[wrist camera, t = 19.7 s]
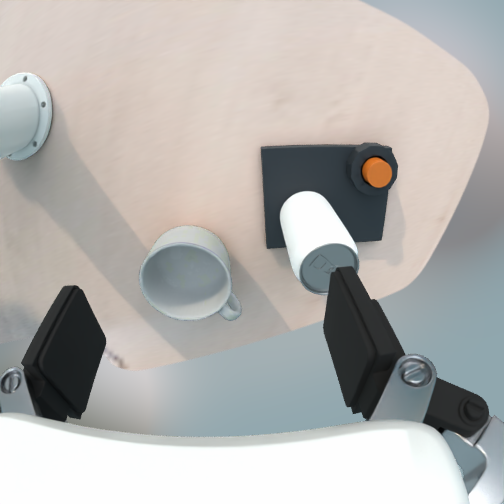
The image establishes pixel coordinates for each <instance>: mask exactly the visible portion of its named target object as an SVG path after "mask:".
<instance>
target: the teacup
mask: <svg viewBox="0 0 504 504" xmlns="http://www.w3.org/2000/svg"><path fill="white" fill-rule="evenodd" d="M139 282H140V287H141V290H142V293H143V295H144V297H145V298H146V300H147V301H148V302H149V304H150V305H151V306H152V307H154V308H155V309H156V310H157V311H159V312H160V313H162V314H164V315H166V316H168V317H170V318H174V319H177V320H184V321H195V320H200V319H204V318H207V317H209V316H211V315H213V314H215V313H216V312H219V313H220V315H221V316H222V317H224V318H225V319H227V320H230V321H232V320H235V319H237V318H238V317H239V316H240V315H241V312H242V307H241V304H240V302H239V300H238V299H237V297H236V296H235V294H234V293H233V292H232V291H231V290H232V279H231V269H230V259H229V255H228V252H227V250H226V248H225V246H224V244H223V243H222V241H221V240H220V239H219V238H218V237H217V236H216V235H215V234H213V233H212V232H210V231H208V230H207V229H204V228H202V227H198V226H190V225H186V226H179V227H175V228H172V229H170V230H168V231H167V232H165V233H164V234H163V235H161V236H160V237H159V238H158V240H157V241H156V242H155V243H154V245H153V247H152V248H151V250H150V252H149V254H148V256H147V257H146V259H145V260H144V262H143V264H142V266H141V269H140V272H139ZM226 302H227V303H228V305H229V306H230V308H229V306H228V305H227V303H226Z"/></svg>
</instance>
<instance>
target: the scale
mask: <svg viewBox="0 0 504 504" xmlns="http://www.w3.org/2000/svg"><path fill="white" fill-rule="evenodd" d="M373 157H377V158H380V159H382V160H383V161H385V162H386V163H388V164H389V165H390V167H391V170H392V177H391V180H390V182H389V183H388V184H387V185H386V186H384V187H381V188H377V187H374V186H372V185H371V184H370V183H368V182H367V181H366V180H365V179H364V177H363V174H362V168H363V165H364V163H365V162H366V161H367V160H368V159H370V158H373ZM261 158H262V175H263V193H264V211H265V230H266V246H267V249H270V248H284V247H287V246H286V242H285V239H284V235H283V231H282V227H281V222H280V212H281V208H282V206H283V204H284V203H285V202H286V200H287V199H288V198H290V197H291V196H292V195H294V194H296V193H299V192H303V191H311V192H316V193H318V194H320V195H322V196H323V197H324V198H325V199H326V200H327V201H328V202H329V204H330V205H331V207H332V208H333V210H334V211H335V213H336V214H337V216H338V217H339V219H340V220H341V222H342V223H343V225H344V226H345V228H346V229H347V231H348V232H349V234H350V236H351V237H352V239H353V241H354V242H366V241H380V240H382V233H383V227H384V220H385V213H386V205H387V197H388V190H389V189H390V188H391V186H392V184H393V183H394V181H395V180H396V178H397V170H398V164H397V162H396V159H395V157H394V155H393V153H392V148H391V147H389V146H382V145H380V144H378V143H363V144H361V145H286V146H266V147H261Z"/></svg>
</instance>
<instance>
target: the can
mask: <svg viewBox="0 0 504 504" xmlns="http://www.w3.org/2000/svg"><path fill="white" fill-rule="evenodd" d="M280 222H281V227H282V231H283V235H284V239H285V242H286V246H287V250H288V254H289V258H290V262H291V265H292V269H293V271H294V274H295V276H296V277H297V279H298V280H299V281H300V282H301V283H302V285H303V286H304V287H305V288H306V289H307V290H308V291H310V292H312V293H314V294H318V295H328V290H329V282H330V275H331V272H335V270H336V268H337V267H345V266H352V267H353V268H354V270H355V271H356V273H358V270H359V259H358V251H357V247H356V245H355V242H354V241H353V239H352V237H351V236H350V234H349V232H348V231H347V229H346V228H345V226H344V225H343V223H342V222H341V220H340V219H339V217H338V216H337V214H336V213H335V211H334V210H333V208H332V207H331V205H330V204H329V202H328V201H327V200H326V199H325V198H324V197H323V196H322V195H320V194H318V193H316V192H311V191H303V192H299V193H296V194H294V195H292V196H291V197H290V198H288V199H287V200H286V202H285V203H284V204H283V206H282V208H281V212H280Z"/></svg>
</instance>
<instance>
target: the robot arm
mask: <svg viewBox="0 0 504 504" xmlns="http://www.w3.org/2000/svg"><path fill="white" fill-rule="evenodd" d="M51 119H52V102H51V97H50V93H49V90H48V88H47V86H46V84H45V83H44V82H43V80H42V79H41V78H40V77H38V76H37V75H35V74H33V73H27V72H25V73H18V74H15V75H13V76H11V77H9V78H8V79H7V80H6V81H5V82H4V83H3V84H2V85H1V86H0V159H2V158H4V157H7V158H9V159H11V160H23V159H26V158H28V157H30V156H31V155H33V154H34V153H36V152H37V151H38V150H39V149H40V148H41V146H42V145H43V143H44V142H45V139H46V137H47V135H48V132H49V129H50V125H51ZM323 329H324V334H325V338H326V341H327V344H328V347H329V351H330V354H331V357H332V360H333V364H334V367H335V370H336V374H337V377H338V380H339V384H340V387H341V391H342V394H343V397H344V401H345V404H346V406H347V407H351V409H352V412H353V414H356V413H360V412H362V415H363V418H365V419H366V420H365V421H363V422H356V423H350V424H343V425H336V426H330V427H324V428H318V429H311V430H303V431H295V432H286V433H277V434H265V435H252V436H233V437H178V436H159V435H146V434H135V433H126V432H118V431H109V430H103V429H97V428H91V427H85V426H80V425H75V424H70V423H68V422H67V420H66V419H67V415H68V416H69V417H70V418H76V419H81V415H82V413H83V412H84V411H85V410H86V406H87V403H88V399H89V396H90V392H91V389H92V386H93V382H94V379H95V376H96V373H97V370H98V367H99V364H100V360H101V358H102V355H103V352H104V349H105V346H106V337H105V335H104V333H103V331H102V329H101V327H100V325H99V323H98V321H97V319H96V317H95V315H94V313H93V311H92V309H91V307H90V305H89V303H88V301H87V298H86V296H85V294H84V292H83V290H82V289H80V288H79V287H78V286H76V285H73V286H64V287H63V288H62V289H61V291H60V293H59V294H58V296H57V298H56V299H55V301H54V303H53V304H52V306H51V308H50V309H49V311H48V313H47V315H46V316H45V318H44V320H43V322H42V323H41V325H40V327H39V329H38V331H37V333H36V334H35V336H34V338H33V340H32V342H31V344H30V346H29V348H28V350H27V352H26V354H25V356H24V358H23V360H22V362H21V364H22V365H23V366H24V369H23V370H22V369H21V368H19V367H11V368H8V369H7V370H6V371H4V372H3V373H2V375H1V376H0V504H502V503H503V502H504V422H502V421H501V420H500V419H499V418H497V417H496V416H495V415H494V416H493V417H491V416H490V415H489V409H488V406H487V404H486V402H485V401H484V399H483V398H482V397H480V396H478V395H477V394H474V393H472V392H470V391H467V390H465V389H463V388H460V387H458V386H455V385H453V384H451V383H448V382H446V381H444V380H441V379H439V378H437V373H436V369H435V366H434V365H433V363H432V362H431V361H430V360H429V359H428V358H426V357H424V356H422V355H418V354H408V355H405V353H404V351H403V349H402V347H401V345H400V343H399V341H398V339H397V337H396V335H395V333H394V331H393V329H392V327H391V325H390V323H389V321H388V319H387V318H386V316H385V314H384V312H383V310H382V308H381V306H380V305H379V303H378V302H377V300H375V299H372V300H371V299H370V297H369V295H368V293H367V291H366V289H365V288H364V286H363V284H362V282H361V280H360V278H359V277H358V275H357V273H356V271H355V270H354V268H353V267H352V266H345V267H337V268H336V270H335V272H331V275H330V282H329V290H328V297H327V304H326V311H325V318H324V324H323ZM455 459H456V460H455ZM458 465H459V466H460V467H461V469H462V470H463V474H464V478H462V475H461V472H460V469H459V467H458Z"/></svg>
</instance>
